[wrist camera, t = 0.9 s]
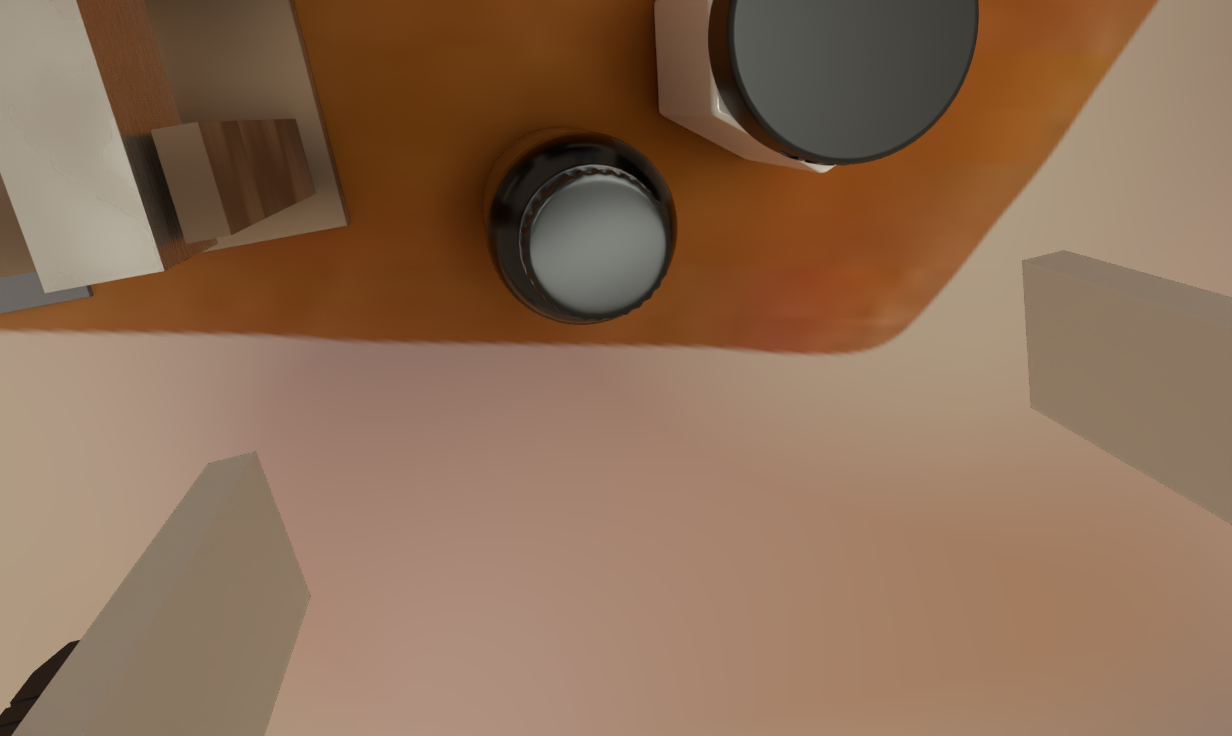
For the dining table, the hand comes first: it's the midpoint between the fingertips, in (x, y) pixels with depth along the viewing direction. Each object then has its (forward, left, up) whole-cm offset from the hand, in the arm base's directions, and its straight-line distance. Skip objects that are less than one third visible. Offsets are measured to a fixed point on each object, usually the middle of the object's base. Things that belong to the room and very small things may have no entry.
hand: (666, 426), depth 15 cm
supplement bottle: (-1, +1, -26) cm, 26 cm away
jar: (-6, +10, -26) cm, 28 cm away
